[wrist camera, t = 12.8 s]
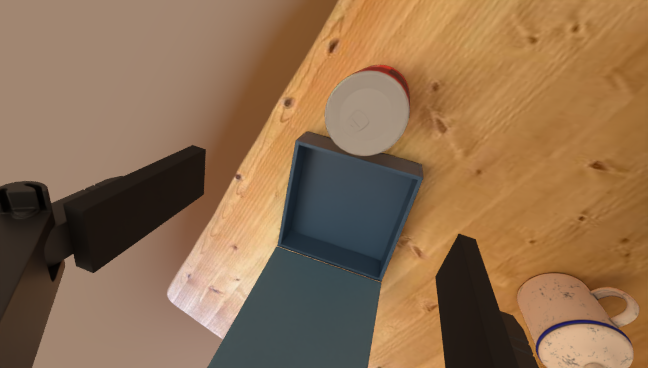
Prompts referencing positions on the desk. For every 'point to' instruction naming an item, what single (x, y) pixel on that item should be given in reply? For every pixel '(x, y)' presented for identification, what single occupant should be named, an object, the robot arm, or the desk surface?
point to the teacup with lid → (575, 323)
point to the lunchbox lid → (302, 318)
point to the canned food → (368, 110)
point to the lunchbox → (347, 205)
